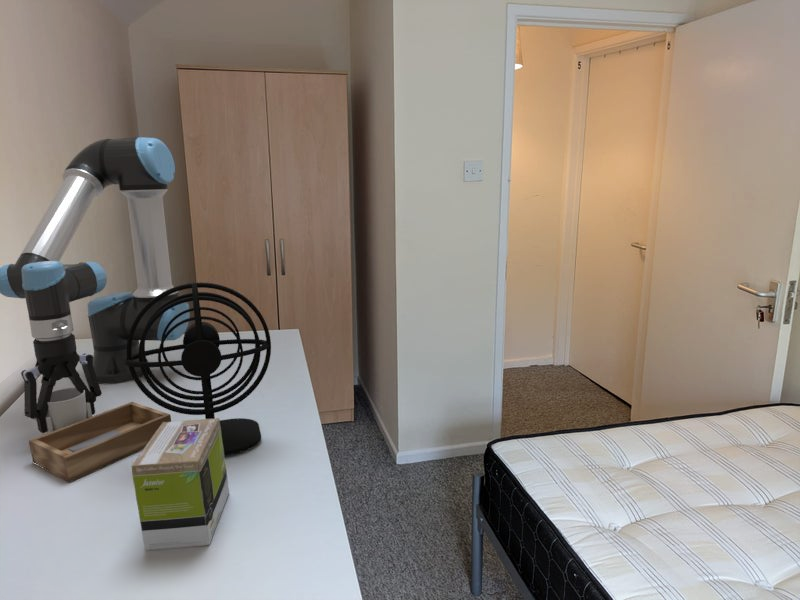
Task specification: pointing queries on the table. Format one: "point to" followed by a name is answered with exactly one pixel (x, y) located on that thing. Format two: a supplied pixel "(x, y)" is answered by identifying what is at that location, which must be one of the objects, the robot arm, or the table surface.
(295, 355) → the table surface
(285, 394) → the table surface
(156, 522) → the tea box
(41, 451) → the wooden box
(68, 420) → the cup
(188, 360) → the desk fan
